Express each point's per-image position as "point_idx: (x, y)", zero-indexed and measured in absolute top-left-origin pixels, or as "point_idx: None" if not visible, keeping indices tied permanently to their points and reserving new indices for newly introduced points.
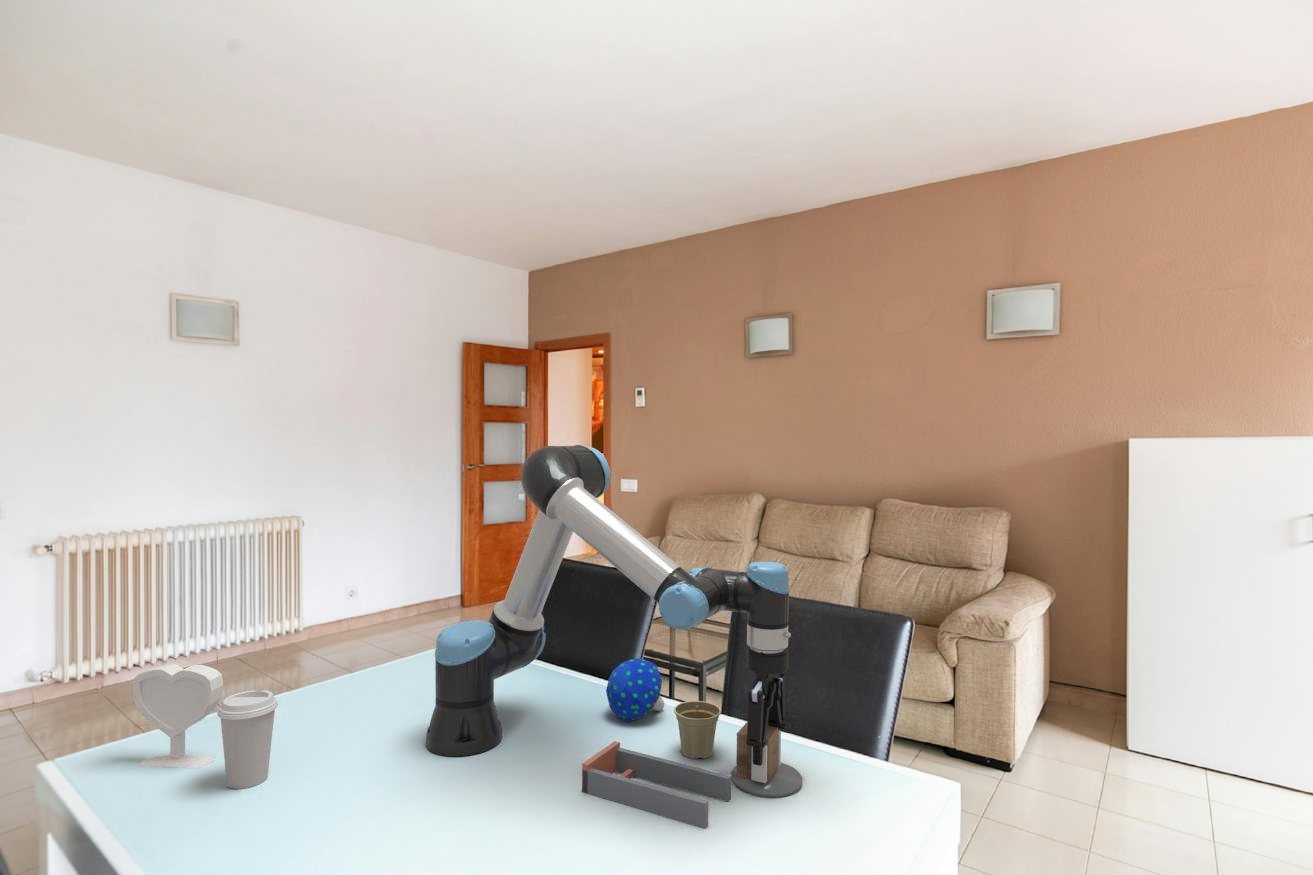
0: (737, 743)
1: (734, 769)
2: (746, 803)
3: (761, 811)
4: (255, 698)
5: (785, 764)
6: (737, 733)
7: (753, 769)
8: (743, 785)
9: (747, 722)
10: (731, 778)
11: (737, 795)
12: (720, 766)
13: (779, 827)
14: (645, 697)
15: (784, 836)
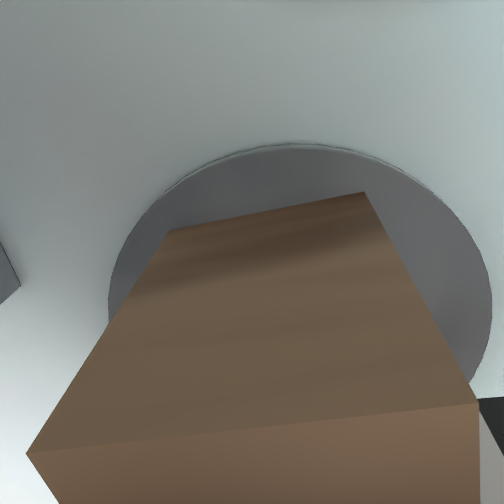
0: (83, 373)
1: (241, 171)
2: (51, 346)
3: (54, 407)
4: None
5: (476, 358)
6: (32, 458)
7: None
8: (123, 300)
9: (454, 413)
10: (156, 201)
11: (70, 290)
12: (272, 28)
13: (27, 476)
14: None
15: (2, 499)
